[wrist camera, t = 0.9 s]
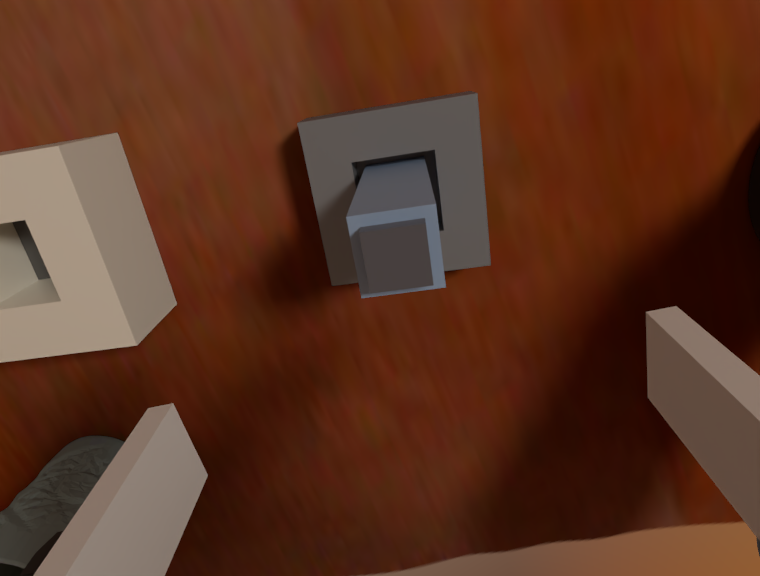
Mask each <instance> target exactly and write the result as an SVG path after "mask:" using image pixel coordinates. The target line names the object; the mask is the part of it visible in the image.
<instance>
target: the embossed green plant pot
mask: <svg viewBox="0 0 760 576" xmlns="http://www.w3.org/2000/svg"><path fill="white" fill-rule="evenodd" d="M124 443H125V442H124V441H121V440H119V439H116V438H112V437H107V436H86V437H82V438H79V439H76V440H74V441H73V442H71V443H69V444H68V445H66V446H65V447H64V448H63V449H62V450H61V451H60V452H59V453H58V454H57V455H56V456H55V457H54V458H53V459H52V460H51V461H50V462H49V463H47V465H46V466H45V467H44V468H43V469H42V470H41V472H40V473H39V475H38V476H37V478H36V479H35V480H34V481H33V482H31V483H30V484H29V485H28V486H27V488H25V489H24V490H22V491H21V492H19V493H18V494H17V496H16V497H15V499H14V500H13V501H12V503H11V504H10V506H8V507H7V508H6V509H5V510H3V511H1V512H0V576H20V574H21V572H22V571H23V570H24V568H25V567H26V565H27V564H28V563H29V561H30V560H31V558H32V557H33V556H34V554H35V553H36V552H37V551H38V550H39V549H40V548H41V547H42V546H43V545H44V544H45V543H46V542H47V541H48V540H50V539H51V538H52V537H53V536H54V535H55V534H56V533H57V532H60V531H64V530H65V529H66V527H67V526H68V524H69V523H70V521H71V520H72V518H73V517H74V515H75V514H76V513H77V511H78V510H79V508H80V507H81V505H82V504H83V502H84V501H85V499H86V498H87V497H88V495H89V494H90V492H91V491H92V489H93V488H94V486H95V485H96V483H97V482H98V480H99V479H100V478H101V476H102V475H103V473H104V472H105V470H106V469H107V467H108V466H109V464H110V463H111V462H112V460H113V459H114V457H115V456H116V454H117V453H118V451H119V450H120V448H121V447H122V446H123V444H124Z"/></svg>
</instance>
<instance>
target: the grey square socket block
mask: <svg viewBox="0 0 760 576" xmlns="http://www.w3.org/2000/svg"><path fill="white" fill-rule="evenodd" d="M297 124H298V129H299V133H300V138H301V143H302V148H303V152H304V157H305V162H306V166H307V171H308V176H309V180H310V185H311V190H312V195H313V199H314V204H315V209H316V213H317V218H318V223H319V228H320V232H321V237H322V242H323V246H324V251H325V256H326V260H327V265H328V270H329V275H330V279H331V284H332V286H336V285H344V284H351V283H359V282H358V277H357V272H356V267H355V261H354V256H353V251H352V245H351V240H350V235H349V230H348V224H347V219H346V216H347V213H348V210H349V208H350V205H351V203H352V200H353V197H354V195H355V192H356V189H357V187H358V184H359V182H360V179H361V176H362V174H363V171H364V169H365V166H366V165H369V164H375V163H381V162H388V161H394V160H401V159H407V158H414V157H420V156H424V158H425V162H426V166H427V170H428V174H429V178H430V182H431V186H432V190H433V194H434V198H435V202H436V207H437V216H438V224H439V233H440V242H441V250H442V259H443V267H444V271H450V270H457V269H465V268H473V267H480V266H488V265H491V261H490V248H489V235H488V223H487V210H486V197H485V184H484V172H483V159H482V146H481V133H480V121H479V108H478V95H477V93H475V92H472V91H468V92H462V93H456V94H450V95H444V96H437V97H431V98H425V99H419V100H413V101H407V102H401V103H395V104H389V105H383V106H377V107H371V108H365V109H359V110H353V111H347V112H341V113H335V114H329V115H323V116H317V117H311V118H306V119H304V120H302V121H300V122H298V123H297Z"/></svg>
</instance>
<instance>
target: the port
mask: <svg viewBox="0 0 760 576" xmlns="http://www.w3.org/2000/svg"><path fill="white" fill-rule="evenodd" d="M176 304H177V302H176V299H175V297H174V294H173V291H172V288H171V285H170V282H169V279H168V276H167V273H166V271H165V268H164V265H163V262H162V259H161V256H160V253H159V250H158V248H157V245H156V242H155V239H154V236H153V233H152V230H151V227H150V225H149V222H148V219H147V216H146V213H145V210H144V207H143V204H142V201H141V199H140V196H139V193H138V190H137V187H136V184H135V181H134V178H133V176H132V173H131V170H130V167H129V164H128V161H127V158H126V155H125V153H124V150H123V147H122V144H121V141H120V138H119V135H118V133H112V134H106V135H101V136H95V137H89V138H83V139H77V140H71V141H65V142H59V143H53V144H48V145H42V146H36V147H30V148H24V149H18V150H12V151H6V152H0V363H1V362H9V361H17V360H25V359H33V358H41V357H49V356H57V355H65V354H73V353H81V352H89V351H97V350H105V349H113V348H121V347H129V346H137V345H138V344H139V343H140V342H141V341H142V340H143V339H144V338H145V337H146V336H147V335H148V334H149V333H150V331H151V330H152V329H153V328H154V327H155V326H156V325H157V324H158V323H159V322H160V321H161V320H162V319H163V318H164V317H165V316H166V315H167V314H168V313H169V312H170V311H171V310H172V309H173V308H174V307H175V305H176Z"/></svg>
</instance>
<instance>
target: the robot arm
mask: <svg viewBox="0 0 760 576" xmlns="http://www.w3.org/2000/svg"><path fill="white" fill-rule="evenodd" d="M749 211H750V217H751V221H752V225H753V227H754V230H755V233H756V235H757V237H758V239H759V240H760V147H759V150H758V152H757V155H756V158H755V161H754V164H753V168H752V172H751V177H750V183H749ZM646 345H647V388H648V399H649V400H650V401H651V402H652V404H653V405H654V406H655V408H656V409H657V410H658V411H659V413H660V414H661V415H662V417H663V418H664V419H665V420H666V422H667V423H668V424H669V425H670V427H671V428H672V429H673V431H674V432H675V433H676V434H677V436H678V437H679V438H680V440H681V441H682V442H683V443H684V445H685V446H686V447H687V448H688V450H689V451H690V452H691V454H692V455H693V456H694V457H695V459H696V460H697V461H698V463H699V464H700V465H701V466H702V468H703V469H704V470H705V471H706V473H707V474H708V475H709V477H710V478H711V479H712V480H713V482H714V483H715V484H716V486H717V487H718V488H719V489H720V491H721V492H722V493H723V494H724V496H725V497H726V498H727V500H728V501H729V502H730V503H731V505H732V506H733V507H734V509H735V510H736V511H737V512H738V514H739V515H740V516H741V518H742V519H743V520H744V521H745V523H746V524H747V525H748V526H749V528H750V529H751V530H752V532H753V533H754V534H755V535H756V537H757V547H758V552H759V556H760V376H759V375H758V374H757V373H756V372H755V371H753V370H752V369H751V368H750V367H749V366H747V365H746V364H745V363H744V362H743V361H741V360H740V359H739V358H738V357H737V356H735V355H734V354H733V353H732V352H731V351H729V350H728V349H727V348H726V347H725V346H723V345H722V344H721V343H720V342H719V341H718V340H716V339H715V338H714V337H713V336H712V335H710V334H709V333H708V332H707V331H706V330H704V329H703V328H702V327H701V326H700V325H698V324H697V323H696V322H695V321H694V320H692V319H691V318H690V317H689V316H688V315H686V314H685V313H684V312H683V311H682V310H681V309H679V308H678V307H677V306H674V307H668V308H663V309H658V310H653V311H648V312H646ZM207 476H208V474H207V472H206V470H205V468H204V466H203V464H202V462H201V460H200V458H199V456H198V454H197V452H196V450H195V448H194V446H193V444H192V441H191V439H190V437H189V435H188V433H187V431H186V429H185V427H184V425H183V423H182V421H181V419H180V417H179V415H178V413H177V411H176V408H175V406H174V404H173V403H172V404H167V405H162V406H157V407H152V408H148V409H147V411H146V412H145V413H144V415H143V416H142V418H141V419H140V421H139V422H138V424H137V425H136V427H135V428H134V430H133V431H132V432H131V434H130V435H129V437H128V438H127V440H126V441H125V443H124V444H123V446H122V447H121V448H120V450H119V451H118V453H117V454H116V456H115V457H114V459H113V460H112V462H111V463H110V464H109V466H108V467H107V469H106V470H105V472H104V473H103V475H102V476H101V478H100V479H99V480H98V482H97V483H96V485H95V486H94V488H93V489H92V491H91V492H90V494H89V495H88V497H87V498H86V499H85V501H84V502H83V504H82V505H81V507H80V508H79V510H78V511H77V513H76V514H75V515H74V517H73V518H72V520H71V521H70V523H69V524H68V526H67V527H66V529H65V530H64V531H60V532H57V533H56V534H55V535H54V536H53V537H52V538H51V539H50V540H48V541H47V542H46V543H45V544H44V545H43V546H42V547H41V548H40V549H39V550H38V551H37V552H36V553H35V554H34V556H33V557H32V558H31V560H30V561H29V563H28V564H27V565H26V567H25V568H24V570H23V571H22V572H21V574H20V576H165V574H166V572H167V569H168V567H169V565H170V562H171V560H172V558H173V555H174V553H175V551H176V549H177V546H178V544H179V542H180V539H181V537H182V535H183V532H184V530H185V528H186V525H187V523H188V521H189V518H190V516H191V514H192V511H193V509H194V507H195V504H196V502H197V500H198V497H199V495H200V493H201V490H202V488H203V486H204V483H205V481H206V479H207Z"/></svg>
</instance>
